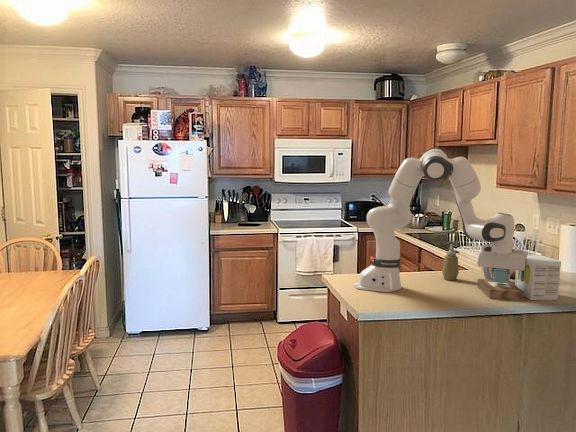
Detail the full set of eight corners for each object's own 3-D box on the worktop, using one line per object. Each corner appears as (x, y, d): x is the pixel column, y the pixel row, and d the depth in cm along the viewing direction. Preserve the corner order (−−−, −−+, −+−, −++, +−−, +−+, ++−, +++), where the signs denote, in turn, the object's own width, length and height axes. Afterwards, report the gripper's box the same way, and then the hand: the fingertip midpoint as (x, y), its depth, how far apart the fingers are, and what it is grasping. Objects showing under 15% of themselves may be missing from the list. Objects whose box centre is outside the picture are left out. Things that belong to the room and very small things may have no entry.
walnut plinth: (489, 298, 209) (490, 289, 208) (477, 286, 228) (477, 278, 228) (523, 300, 207) (523, 291, 207) (507, 288, 227) (508, 279, 226)
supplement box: (513, 292, 220) (516, 255, 218) (540, 291, 222) (542, 255, 220) (530, 300, 207) (533, 261, 205) (558, 300, 209) (562, 261, 207)
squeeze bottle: (442, 280, 239) (444, 245, 237) (441, 276, 247) (442, 243, 245) (459, 281, 237) (461, 246, 235) (457, 278, 245) (459, 243, 243)
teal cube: (494, 282, 215) (495, 271, 215) (493, 279, 220) (494, 269, 220) (506, 283, 214) (507, 272, 213) (505, 280, 218) (505, 270, 218)
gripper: (527, 249, 214) (525, 279, 215) (478, 245, 222) (476, 273, 224) (527, 251, 208) (525, 282, 210) (478, 247, 217) (476, 276, 218)
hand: (499, 277), depth 217 cm, fingers closed on teal cube, 5 cm apart
